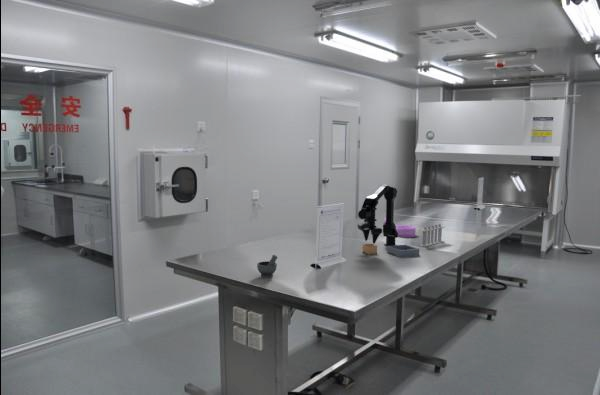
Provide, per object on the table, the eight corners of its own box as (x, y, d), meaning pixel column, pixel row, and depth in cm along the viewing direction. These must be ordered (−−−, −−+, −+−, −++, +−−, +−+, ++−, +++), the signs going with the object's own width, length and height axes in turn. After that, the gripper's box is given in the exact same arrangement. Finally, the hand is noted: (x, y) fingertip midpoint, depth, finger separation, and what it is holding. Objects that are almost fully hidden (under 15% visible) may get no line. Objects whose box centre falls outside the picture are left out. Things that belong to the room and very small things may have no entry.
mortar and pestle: (253, 277, 235) (253, 254, 233) (265, 273, 242) (265, 250, 241) (270, 281, 228) (271, 257, 227) (282, 276, 236) (282, 253, 235)
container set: (417, 234, 353) (418, 217, 351) (411, 238, 340) (412, 220, 338) (386, 231, 365) (387, 215, 364) (379, 234, 353) (380, 217, 351)
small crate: (362, 252, 293) (362, 244, 292) (371, 251, 295) (371, 243, 295) (367, 254, 287) (368, 246, 286) (376, 253, 289) (377, 245, 289)
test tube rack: (424, 247, 309) (425, 227, 308) (418, 246, 312) (419, 226, 311) (444, 242, 326) (445, 223, 324) (438, 241, 329) (439, 223, 328)
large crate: (387, 252, 293) (387, 246, 292) (405, 250, 298) (405, 244, 297) (400, 257, 280) (400, 250, 279) (419, 255, 285) (419, 249, 285)
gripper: (351, 216, 294) (351, 240, 296) (367, 220, 277) (366, 246, 279) (367, 215, 298) (366, 238, 300) (382, 219, 281) (382, 244, 283)
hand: (370, 242), depth 290 cm, fingers open, 9 cm apart
